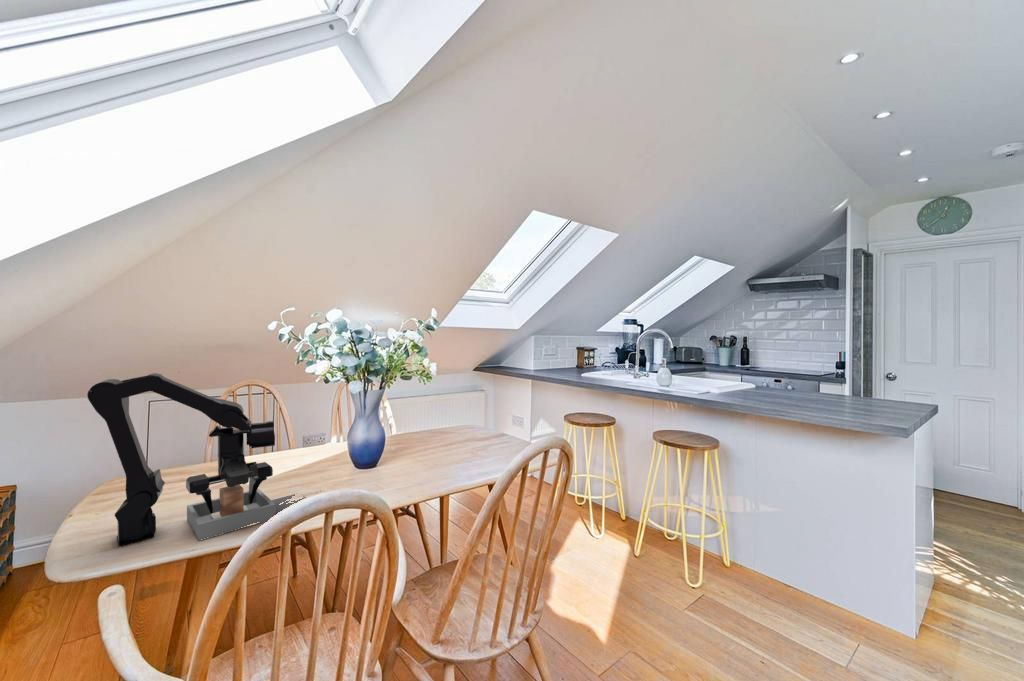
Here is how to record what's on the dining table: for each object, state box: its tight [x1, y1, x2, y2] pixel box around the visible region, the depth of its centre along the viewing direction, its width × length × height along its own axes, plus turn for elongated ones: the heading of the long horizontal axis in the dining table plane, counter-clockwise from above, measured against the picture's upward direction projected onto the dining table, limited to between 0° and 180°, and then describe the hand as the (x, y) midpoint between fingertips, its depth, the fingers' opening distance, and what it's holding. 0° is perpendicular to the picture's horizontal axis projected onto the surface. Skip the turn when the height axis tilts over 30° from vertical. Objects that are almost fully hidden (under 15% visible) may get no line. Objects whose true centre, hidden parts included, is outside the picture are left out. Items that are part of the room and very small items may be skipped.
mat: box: [270, 492, 305, 514], centre depth 124 cm, size 10×10×1 cm
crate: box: [186, 488, 277, 541], centre depth 114 cm, size 17×15×4 cm
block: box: [218, 484, 244, 517], centre depth 114 cm, size 4×4×7 cm
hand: (231, 508), depth 114 cm, fingers open, 9 cm apart
